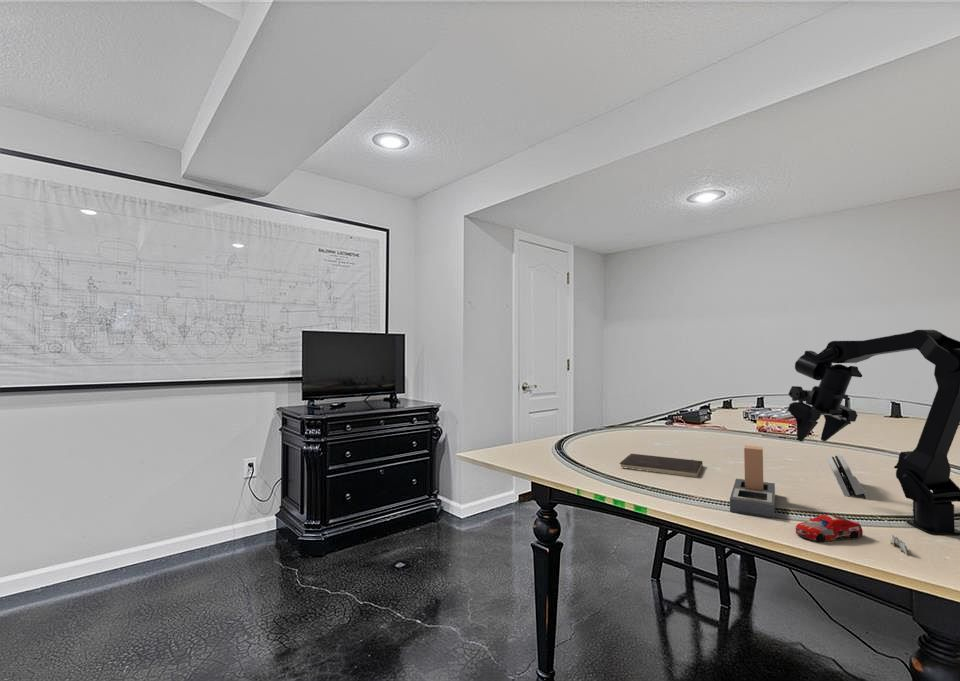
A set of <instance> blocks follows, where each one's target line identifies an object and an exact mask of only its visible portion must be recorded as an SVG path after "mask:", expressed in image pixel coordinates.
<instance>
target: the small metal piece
mask: <svg viewBox="0 0 960 681" xmlns="http://www.w3.org/2000/svg"><path fill="white" fill-rule="evenodd" d="M889 544H891V545H893V547H895V548H899V549H901V552H902V553H904V555H906V556H907V555H910V552H909V550H908V546H906V543H905V542H904V541H902V540H901V539H899V537H898V535H896V536H895V535H894V534H892V535H891V538H890V541H889Z"/></svg>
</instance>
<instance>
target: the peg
mask: <svg viewBox="0 0 960 681" xmlns="http://www.w3.org/2000/svg"><path fill="white" fill-rule="evenodd" d="M763 448H764V447H763V446H757V445H748V444H747V445H746V444H745V445H744V447H743V449H744V452H743V454H744V456H743V457H744V459H743V461H744V480H745V488H751V489H758V490H764V488H763V482H764V452H763V451H764V449H763Z"/></svg>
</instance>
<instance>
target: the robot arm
mask: <svg viewBox="0 0 960 681" xmlns="http://www.w3.org/2000/svg"><path fill="white" fill-rule="evenodd" d="M914 350H918V351H919V353H920V354H921V355H922V356H923V358H924V359H925V360H927V361H928V362H930V364H932V365H934V372H933V376H934V378H935V382H936V385H937V390H936V393H935V396H934V398H933V401H932V403H931V406H930V409H929V411H928V415H927V418H926V420H925V423H924V426H923V429H922V431H921V433H920V437H919V438H918V442H917V445H916V447H915V448H914V449H913V450H911V451H910V450H909V451H901V452H899V455H898V461H897V463H896V465H894V466H893V468H894V469H896V471H895V477H896V479H897V480H898V482H899V484H900V486H901V489H902V491H903V492H902V493H903V494H904V497H905V498H906V499H909V500H911V501H912V519H906V520H905V521H906V522H907V524H908V523H909V524H908V525H910V524H911V525H910V526H913V527H915V528H917V529H919V530H921V531H922V532H923V531H924V532H926V533H927V534H931V535H933V534H934V535H957V536H958V535H959V536H960V530H959V529H957V528H955V527H956V526H955V504H954V503H953V502H960V487H959V486H958V485H957V484H956V483H955V482H954V481H953V480H952V479H951V478H950V476H951V471H952V468H951V465H950V463H949V459H948V454H949V451H950V448H951V446H952V443H953V441H954V438H955V436H956V433H957V430H958V429H959V425H960V340H957V339H955V338H952V337H949V336H947V335H945V334H944V333H942V332H940V331H938V330H935V329H914V330H912V331H910V332H904V333H903V332H902V333H899V334H893V335H887V336H881V337H876V338H870V339H865V340H864V339H863V340H832V341H830V342H828V343H827V345H826V347H825V348H824V349H823V350H822V351H820V352H819V353H817V352H816V351H813V350H805V351H804V354H802V355H801V356H800V357H798V359H797V360H796V361H795V363H794V369H795V372H797V373H799V374H801V375H804V376H805V377H808V378H810V379H813V380H815V381H820V382H819V384H818V385H814V386H813V387H812V389H811V390H809V389H807V390H806V389H803V386H798V385H797V386H795V385H794V386H793V385H792V386H791V388H790V389H789V391H788V396H789V397H790V398H791V401H792V402H791V403H789V405H788V408H787V412H789V413H790V415H791V416H793V417H794V419H795V422H796V438H797V439H796V440H797V441H799V442H803V441H804V440H805V438H807V437H808V436H809V434H810V433H811V432H812V431H813V429H814V428H816V426H817V425H818V424H819V421H818V420H820V418H821V416H823V417H824V420H825V421H824V426H823V429H822V432H821V437H820V440H821V441H823V442H827V441H828V440H829V439H830V438H832V437H833V436H835V434H837V433H839V431H841V430H842V429H844V428H846V427H847V426H848V425H851V424H852V422H853V423H855V422H856V420H857V418H858V416H859V415H858V413H857V411H856V410H855V409H852V408H850V407H847V406H845V405H843V404H842V403H843V400H847V399H848V398H849V395H848V394H846V393H847V390H848V388H849V385H850V383H851V380H852V377H854V378H862V377H863V374H862V372H860V370H859V366H857V365H856V366H854V365H849V366H847V365H844V364H857V363H860V362H863V361H866V360H870V358H872V357H875V356H878V355H886V354H892V353H899V352H907V351H914ZM906 522H905V523H906Z"/></svg>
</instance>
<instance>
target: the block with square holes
mask: <svg viewBox="0 0 960 681" xmlns="http://www.w3.org/2000/svg"><path fill="white" fill-rule="evenodd" d="M775 485H776V483H774V482H768V481H767V482H766V481H763V488H764V490H758V489H751V488H745V478H744V479H743V478H735V481H734V484H733V487H732V491H731V494H730V497H729V512H732V513H737V514H738V513H739V514H744V515H749V516H750V515H751V516H757V517H763V518H770V519H776V518H775V516H776V515H775V514H776V513H775V512H776V486H775Z"/></svg>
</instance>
